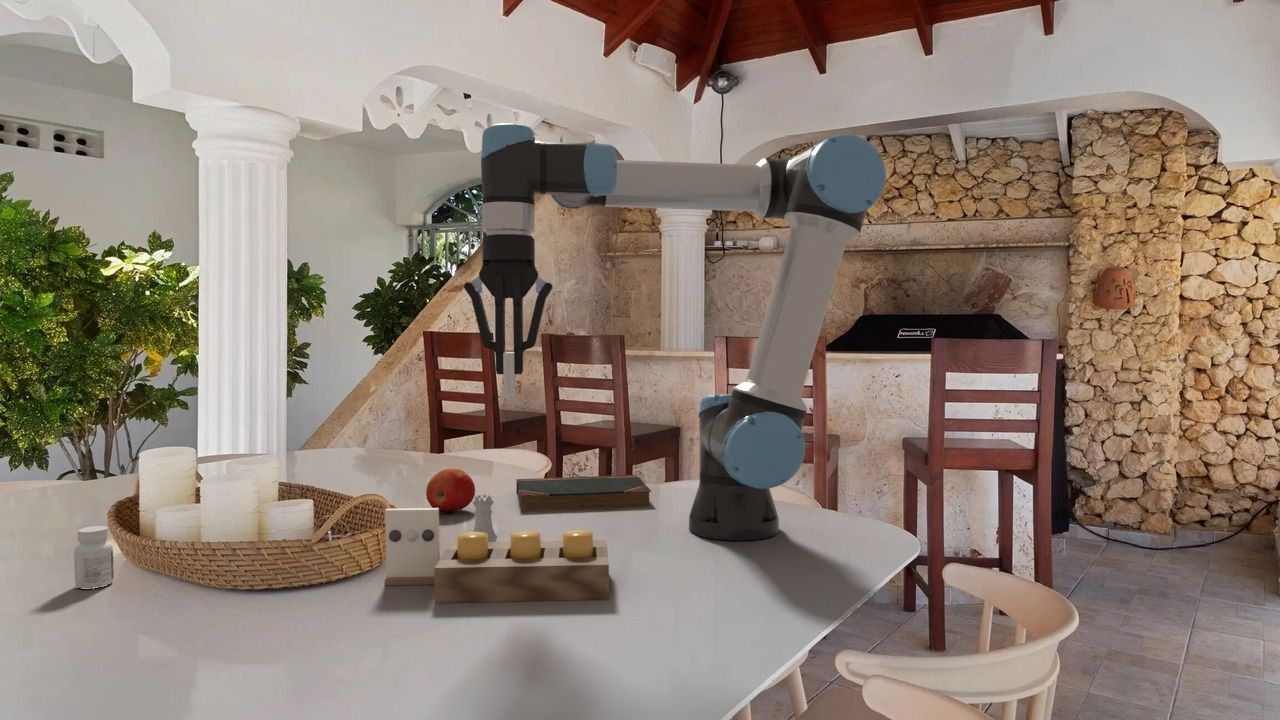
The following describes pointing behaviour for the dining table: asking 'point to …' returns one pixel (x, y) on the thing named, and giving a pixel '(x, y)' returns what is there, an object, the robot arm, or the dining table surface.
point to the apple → (450, 490)
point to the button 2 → (577, 544)
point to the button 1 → (472, 545)
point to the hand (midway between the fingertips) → (509, 396)
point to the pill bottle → (93, 558)
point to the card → (411, 545)
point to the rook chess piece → (484, 516)
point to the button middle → (525, 545)
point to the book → (582, 492)
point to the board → (522, 575)
